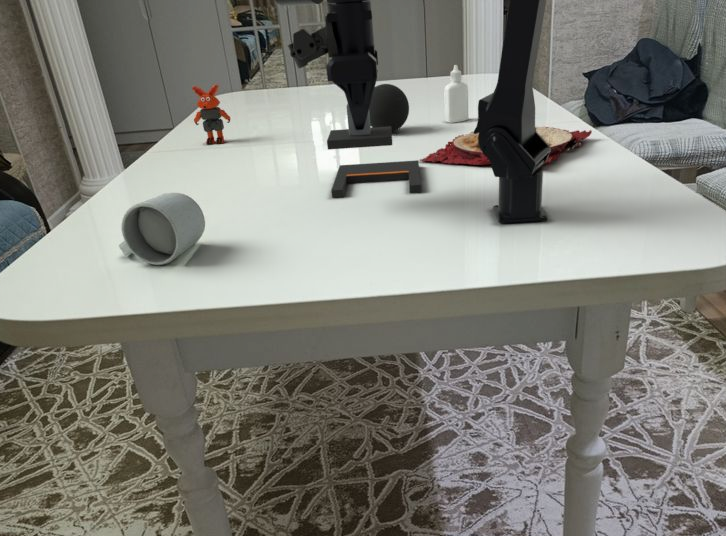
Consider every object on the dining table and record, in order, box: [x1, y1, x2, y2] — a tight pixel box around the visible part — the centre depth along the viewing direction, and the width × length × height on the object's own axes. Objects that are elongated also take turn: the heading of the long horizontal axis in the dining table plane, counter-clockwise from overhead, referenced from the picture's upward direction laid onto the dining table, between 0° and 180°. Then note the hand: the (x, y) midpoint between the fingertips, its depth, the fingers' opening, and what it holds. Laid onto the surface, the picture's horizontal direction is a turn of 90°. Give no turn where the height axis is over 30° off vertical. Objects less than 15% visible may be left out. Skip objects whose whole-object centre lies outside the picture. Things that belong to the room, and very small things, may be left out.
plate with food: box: [419, 126, 593, 166], centre depth 119 cm, size 24×26×4 cm
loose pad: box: [326, 102, 393, 150], centre depth 90 cm, size 7×9×5 cm
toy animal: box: [191, 83, 231, 146], centre depth 140 cm, size 8×6×12 cm
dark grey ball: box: [369, 83, 410, 133], centre depth 139 cm, size 10×10×10 cm
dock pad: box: [331, 159, 422, 199], centre depth 106 cm, size 16×14×1 cm
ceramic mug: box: [118, 192, 206, 266], centre depth 80 cm, size 11×8×8 cm
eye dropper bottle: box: [443, 64, 469, 124], centre depth 145 cm, size 4×6×12 cm
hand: (360, 127), depth 90 cm, fingers closed on loose pad, 3 cm apart
